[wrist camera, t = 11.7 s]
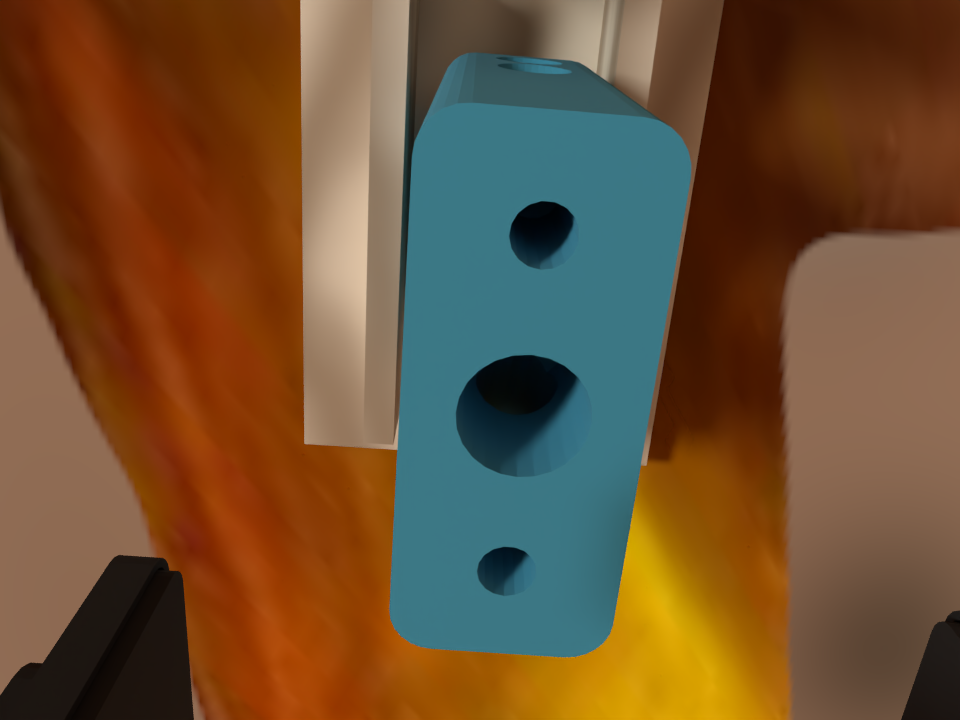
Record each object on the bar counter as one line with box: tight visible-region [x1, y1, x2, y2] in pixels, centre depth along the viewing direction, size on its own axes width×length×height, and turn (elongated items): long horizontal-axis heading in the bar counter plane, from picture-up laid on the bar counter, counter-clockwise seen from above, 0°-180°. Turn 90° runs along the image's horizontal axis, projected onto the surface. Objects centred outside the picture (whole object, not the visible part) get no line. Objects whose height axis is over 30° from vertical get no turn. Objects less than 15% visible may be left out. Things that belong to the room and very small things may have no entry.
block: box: [390, 52, 691, 657], centre depth 27 cm, size 12×5×20 cm, turn 175°
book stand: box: [301, 0, 724, 465], centre depth 30 cm, size 16×24×16 cm, turn 176°
